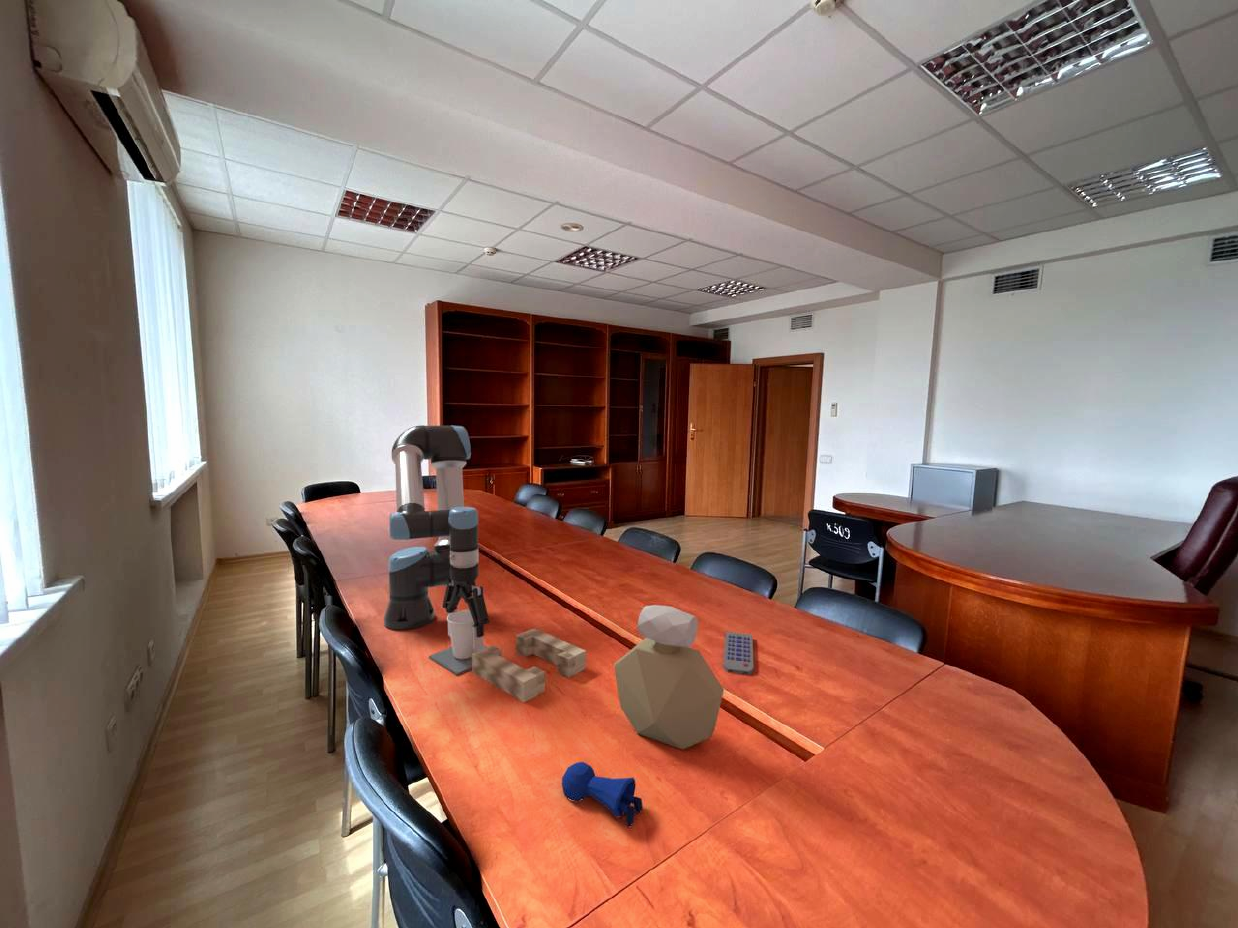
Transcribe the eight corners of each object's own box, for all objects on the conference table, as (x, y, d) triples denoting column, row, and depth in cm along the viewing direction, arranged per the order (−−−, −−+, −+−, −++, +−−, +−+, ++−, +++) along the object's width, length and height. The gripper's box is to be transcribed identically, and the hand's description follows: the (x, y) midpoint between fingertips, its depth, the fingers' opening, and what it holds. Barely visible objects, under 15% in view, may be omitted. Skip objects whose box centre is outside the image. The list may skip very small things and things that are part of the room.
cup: (472, 665, 130) (473, 625, 129) (438, 660, 132) (439, 621, 131) (489, 649, 140) (490, 611, 139) (458, 644, 142) (458, 607, 141)
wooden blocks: (472, 672, 128) (472, 653, 127) (533, 644, 144) (533, 628, 144) (524, 702, 115) (524, 682, 114) (585, 668, 131) (585, 650, 130)
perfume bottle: (710, 771, 93) (715, 630, 91) (602, 730, 105) (604, 604, 102) (728, 735, 104) (733, 608, 101) (628, 702, 115) (631, 587, 113)
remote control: (752, 640, 150) (752, 633, 150) (753, 677, 129) (753, 669, 128) (725, 637, 152) (726, 630, 152) (722, 672, 131) (722, 664, 130)
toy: (645, 808, 85) (575, 772, 93) (647, 775, 84) (577, 741, 92) (625, 837, 79) (553, 795, 87) (627, 802, 78) (554, 763, 86)
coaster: (428, 657, 135) (428, 655, 135) (472, 640, 146) (472, 638, 146) (457, 675, 126) (457, 673, 126) (501, 655, 137) (501, 653, 137)
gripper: (428, 558, 138) (430, 632, 140) (478, 576, 123) (478, 659, 125) (452, 553, 144) (453, 624, 146) (502, 570, 129) (502, 649, 131)
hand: (465, 640), depth 136 cm, fingers open, 12 cm apart
